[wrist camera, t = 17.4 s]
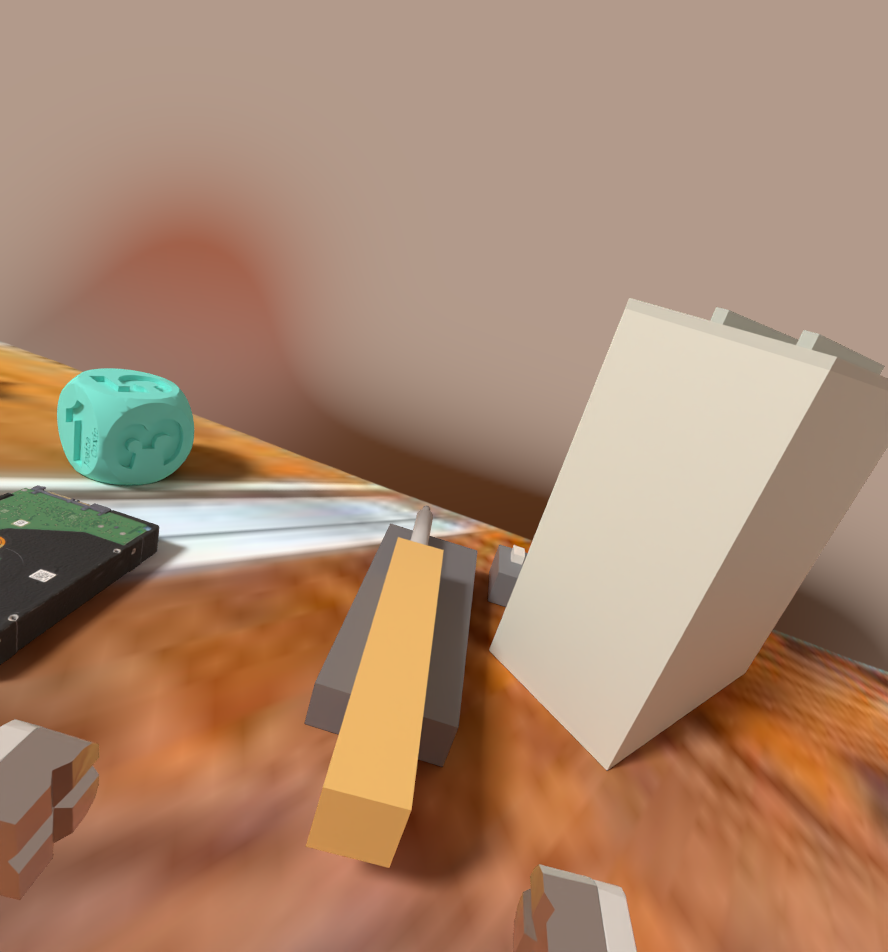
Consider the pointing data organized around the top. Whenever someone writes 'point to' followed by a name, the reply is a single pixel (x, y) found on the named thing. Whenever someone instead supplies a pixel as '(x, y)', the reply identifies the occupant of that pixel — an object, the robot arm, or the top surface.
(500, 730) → the top surface
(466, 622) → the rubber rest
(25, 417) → the top surface
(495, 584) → the switch box
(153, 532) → the disk drive
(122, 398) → the decorative dice
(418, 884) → the top surface
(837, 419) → the slotted cream upright block
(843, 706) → the top surface
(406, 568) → the long orange square stick
